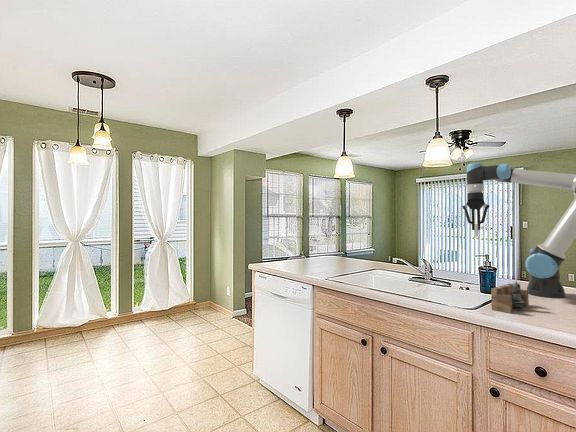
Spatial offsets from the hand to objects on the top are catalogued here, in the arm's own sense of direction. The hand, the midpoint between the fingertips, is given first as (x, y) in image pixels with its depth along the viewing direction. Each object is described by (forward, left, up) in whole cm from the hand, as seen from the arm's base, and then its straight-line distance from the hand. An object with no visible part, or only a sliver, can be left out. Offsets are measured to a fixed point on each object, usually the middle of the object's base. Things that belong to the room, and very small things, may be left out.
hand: (476, 236), depth 172 cm
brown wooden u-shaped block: (-10, +31, -29) cm, 44 cm away
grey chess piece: (-12, +32, -30) cm, 45 cm away
